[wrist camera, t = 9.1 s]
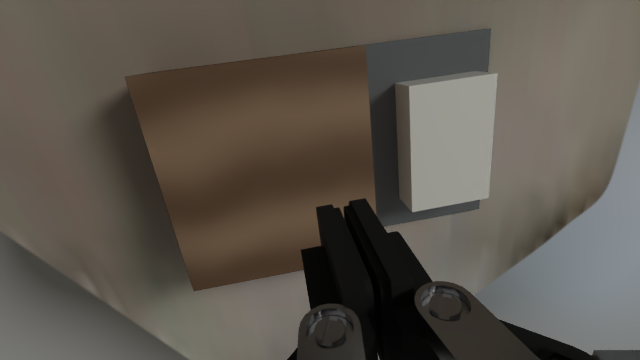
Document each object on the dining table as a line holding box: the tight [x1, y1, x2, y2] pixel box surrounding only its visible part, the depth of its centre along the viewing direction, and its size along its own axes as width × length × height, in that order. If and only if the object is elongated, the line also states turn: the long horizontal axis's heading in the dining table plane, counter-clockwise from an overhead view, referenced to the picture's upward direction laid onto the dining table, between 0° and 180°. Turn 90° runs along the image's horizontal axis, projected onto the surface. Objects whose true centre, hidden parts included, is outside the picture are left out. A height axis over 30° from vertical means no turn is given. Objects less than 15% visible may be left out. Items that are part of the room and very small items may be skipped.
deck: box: [125, 46, 376, 291], centre depth 22 cm, size 14×13×4 cm
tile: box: [395, 71, 497, 212], centre depth 24 cm, size 9×6×2 cm, turn 7°
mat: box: [352, 29, 491, 226], centre depth 25 cm, size 14×10×1 cm
